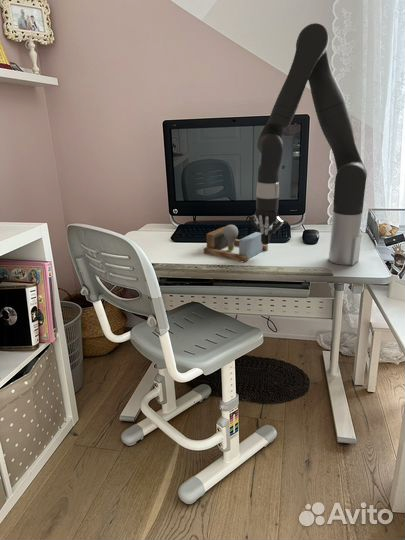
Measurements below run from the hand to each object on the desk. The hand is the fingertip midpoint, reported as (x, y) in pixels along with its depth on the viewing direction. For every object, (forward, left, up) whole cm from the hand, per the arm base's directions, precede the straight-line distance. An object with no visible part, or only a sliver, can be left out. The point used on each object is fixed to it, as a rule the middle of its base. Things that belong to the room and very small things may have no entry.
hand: (265, 244), depth 151 cm
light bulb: (+14, 0, -5) cm, 15 cm away
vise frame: (+12, 0, -5) cm, 13 cm away
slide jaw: (+6, 0, -5) cm, 8 cm away
